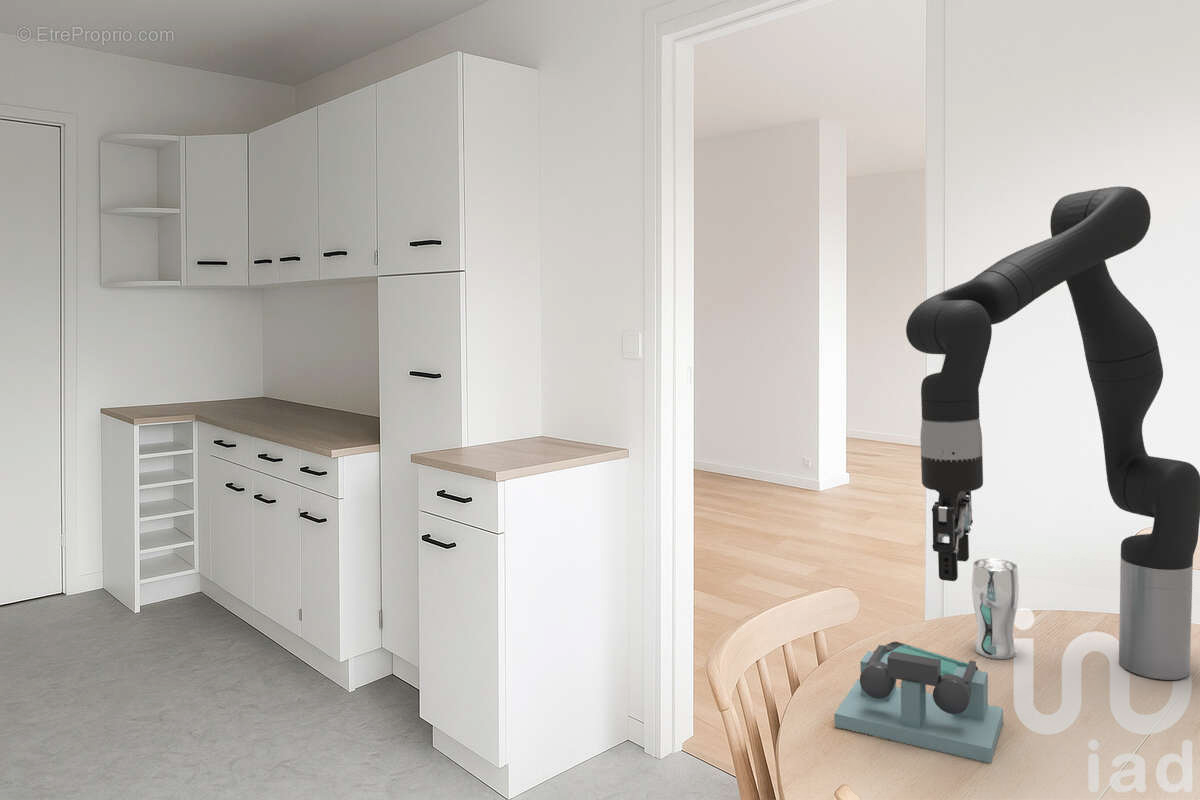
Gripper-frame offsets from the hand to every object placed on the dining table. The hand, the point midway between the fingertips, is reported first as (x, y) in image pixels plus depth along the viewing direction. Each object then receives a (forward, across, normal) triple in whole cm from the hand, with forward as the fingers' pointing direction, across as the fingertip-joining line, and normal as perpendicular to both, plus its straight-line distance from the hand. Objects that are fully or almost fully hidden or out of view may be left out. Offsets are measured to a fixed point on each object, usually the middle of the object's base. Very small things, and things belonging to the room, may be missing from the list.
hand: (954, 569), depth 111 cm
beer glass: (+24, +29, -1) cm, 37 cm away
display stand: (+23, -1, +5) cm, 23 cm away
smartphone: (+24, +19, +9) cm, 31 cm away
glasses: (+18, -1, +5) cm, 19 cm away
